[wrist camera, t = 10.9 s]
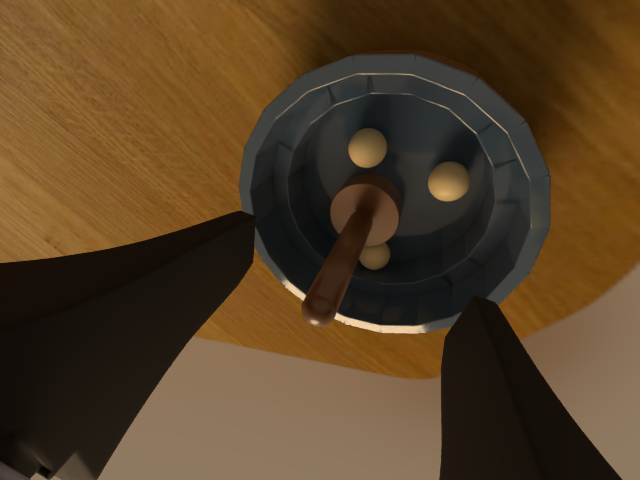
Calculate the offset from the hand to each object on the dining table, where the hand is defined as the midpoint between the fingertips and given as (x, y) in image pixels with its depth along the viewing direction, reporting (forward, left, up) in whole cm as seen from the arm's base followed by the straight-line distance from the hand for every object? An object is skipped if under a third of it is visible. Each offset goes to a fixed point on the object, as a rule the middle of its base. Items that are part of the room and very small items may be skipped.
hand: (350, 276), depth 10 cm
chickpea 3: (0, -3, -7) cm, 8 cm away
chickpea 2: (-3, +1, -7) cm, 8 cm away
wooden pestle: (-1, +1, -8) cm, 8 cm away
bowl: (0, 0, -8) cm, 8 cm away
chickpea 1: (+2, 0, -7) cm, 7 cm away
